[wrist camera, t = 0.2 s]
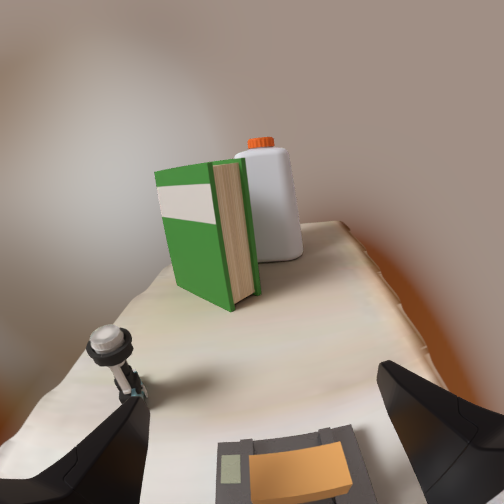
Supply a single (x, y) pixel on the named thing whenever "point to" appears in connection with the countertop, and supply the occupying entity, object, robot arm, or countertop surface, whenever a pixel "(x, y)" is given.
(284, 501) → the lever
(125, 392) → the push button
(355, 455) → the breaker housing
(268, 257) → the plastic bottle
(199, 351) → the countertop surface
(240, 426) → the countertop surface
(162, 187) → the hardback book
